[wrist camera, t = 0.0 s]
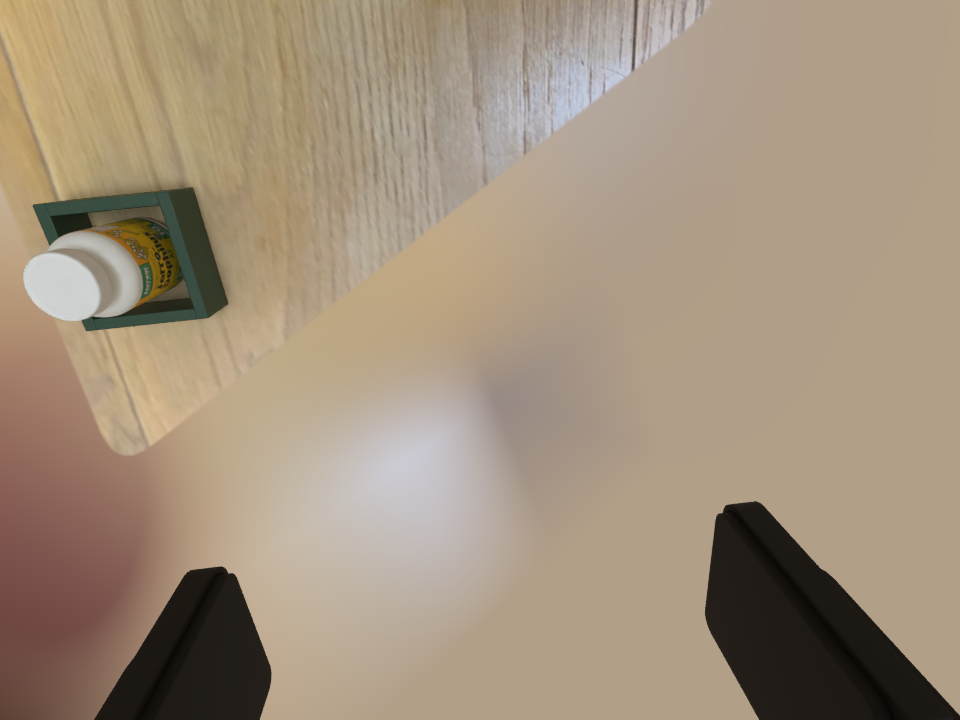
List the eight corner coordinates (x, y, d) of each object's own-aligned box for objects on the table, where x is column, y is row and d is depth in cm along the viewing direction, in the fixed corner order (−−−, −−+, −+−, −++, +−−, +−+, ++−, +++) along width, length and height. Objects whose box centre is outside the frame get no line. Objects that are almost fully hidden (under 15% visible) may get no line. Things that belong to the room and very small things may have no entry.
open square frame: (69, 200, 35) (31, 204, 32) (193, 187, 35) (167, 191, 32) (115, 316, 38) (85, 331, 35) (228, 304, 38) (208, 318, 35)
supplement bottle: (100, 223, 36) (-13, 246, 27) (174, 211, 36) (86, 230, 27) (132, 295, 38) (37, 339, 29) (202, 283, 38) (128, 324, 29)
